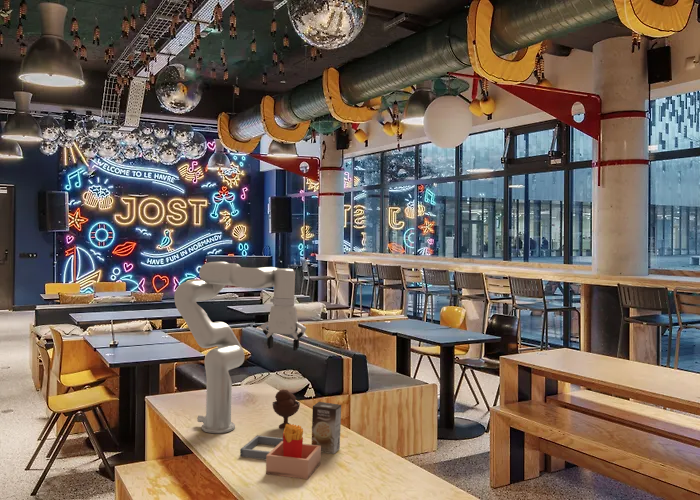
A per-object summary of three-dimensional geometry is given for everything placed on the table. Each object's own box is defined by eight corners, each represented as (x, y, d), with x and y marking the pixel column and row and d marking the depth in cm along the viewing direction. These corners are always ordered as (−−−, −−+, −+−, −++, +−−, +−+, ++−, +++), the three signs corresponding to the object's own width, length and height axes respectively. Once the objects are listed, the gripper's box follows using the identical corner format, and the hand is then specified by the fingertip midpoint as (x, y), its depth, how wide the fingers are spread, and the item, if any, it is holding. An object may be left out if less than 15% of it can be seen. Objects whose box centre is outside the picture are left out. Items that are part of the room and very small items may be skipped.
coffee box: (310, 450, 222) (311, 405, 222) (317, 444, 228) (318, 401, 228) (334, 454, 219) (335, 408, 219) (340, 448, 225) (341, 404, 225)
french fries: (279, 462, 208) (280, 423, 208) (290, 459, 211) (291, 421, 210) (295, 471, 201) (295, 430, 200) (306, 468, 204) (307, 428, 203)
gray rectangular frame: (240, 456, 215) (240, 449, 215) (257, 442, 230) (257, 435, 230) (273, 460, 212) (273, 453, 212) (288, 445, 227) (288, 438, 227)
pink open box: (265, 473, 201) (266, 455, 200) (281, 458, 214) (281, 441, 214) (307, 479, 197) (308, 460, 197) (320, 463, 211) (320, 445, 211)
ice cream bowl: (295, 432, 241) (296, 393, 241) (267, 429, 244) (268, 391, 243) (302, 424, 252) (303, 387, 251) (276, 421, 254) (277, 385, 253)
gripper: (257, 302, 228) (257, 349, 228) (303, 304, 223) (302, 352, 224) (265, 300, 235) (264, 345, 236) (309, 302, 231) (308, 348, 231)
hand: (283, 348), depth 230 cm, fingers open, 9 cm apart
